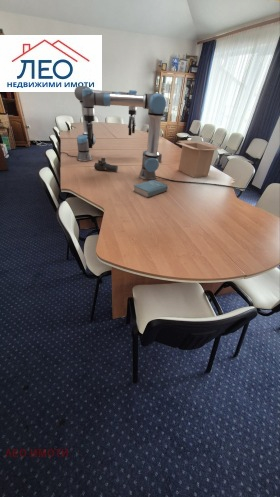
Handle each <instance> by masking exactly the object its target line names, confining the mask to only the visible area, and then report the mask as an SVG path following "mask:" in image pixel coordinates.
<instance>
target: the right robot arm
mask: <svg viewBox="0 0 280 497" xmlns="http://www.w3.org/2000/svg"><path fill="white" fill-rule="evenodd" d="M93 90H94V89H93V88H90V89H83V90H82V99H83V111H84V114H85V115H84V120H85V121H88V123H87V131H88V138H87V139H88V146H89V149H93V146H92V144H94V142H93V135H94V136H95V133H94V129H93V128H94V127H93V126H94V125H93V122H95V121H96V120H95V107H96V106H97V107H110V106H118V107H119V106H121V107H129V106H134V107H136V108H143V109H144V110H148V111H147V115H148V117H149V123H148V134H147V135H148V136H147V149H146V150H143V151H142V159H141V160H142V161H141V169H140V172H139V178H140V179H142V180H146V181H150V180H156V178H158V179H161V180H166V181H169V182H175V183H183V184H184V183H186V184H197V185H199V184H200V185H209V186H217V187H219V186H221V187H226V188H232V189H238V190H247V191H249V192H251V189H250V188H249V187H248V188H247V187H238V186H232V185H226V184H217V183H211V182H210V183H209V182H198V181H197V182H196V181H185V180H184V181H183V180H174V179H169V178H165V177H162V176H157V174H156V171H157V170H158V169H159V166H160V163H159V162H158V159H159V154H158V153H159V152H158V150H159V141H160V133H161V123H162V119H163V117H164V115H165V110H166V107H167V99H166V97H165V96H164V95H163V94H162V93H159V92H153V93H144V94H137V95H131V94H116V93H104V92H102V93H93ZM93 133H94V134H93ZM94 145H95V144H94Z"/></svg>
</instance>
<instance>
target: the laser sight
mask: <svg viewBox="0 0 280 497" xmlns="http://www.w3.org/2000/svg"><path fill="white" fill-rule="evenodd" d="M93 167H94V169H95V170H97V171H103V172H116V173H117V172H118V170H119V169H118V168H119V166H118V165H116V164H111V163H107V162H106V157H101V159H98V160H97V162H95V163H94V164H93Z"/></svg>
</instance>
